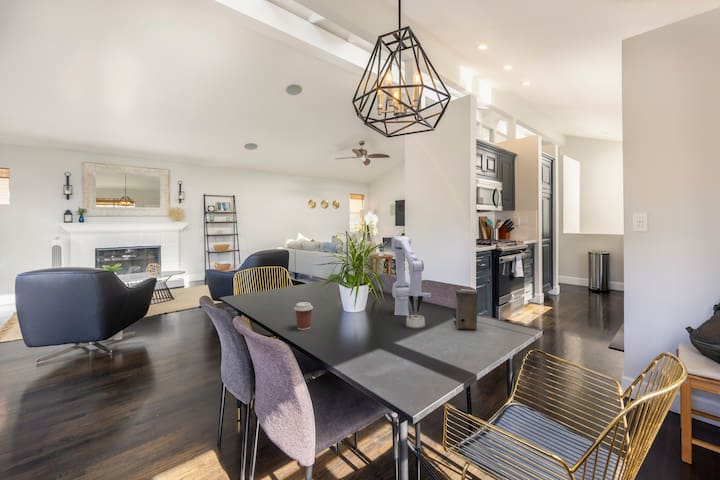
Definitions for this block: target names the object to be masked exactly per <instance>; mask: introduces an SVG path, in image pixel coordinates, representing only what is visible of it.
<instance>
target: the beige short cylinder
mask: <svg viewBox="0 0 720 480" xmlns="http://www.w3.org/2000/svg"><path fill="white" fill-rule="evenodd" d="M411 315H412V316H411V319H421V316H422V315H420V316H418V315H419V314H411Z"/></svg>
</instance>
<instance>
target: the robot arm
mask: <svg viewBox="0 0 720 480" xmlns="http://www.w3.org/2000/svg"><path fill="white" fill-rule="evenodd" d="M390 241H391V251H392V252H394V256H395V257H394V258H395V259H394V260H395V274H396V280H395V282H394V283H393V284H392V289H391V295H392V298H394V299H395V300H394V313H393V315H395V316H406V317H407V316H409V315H410V313H409V312H410V311H409V302H410V305H411V309H412V312H415V303H414V302H415V301H414V300H415V297H416V298H417V301H416V302H417V303H416V304H417V305H416V309H417V310H416V311H417V312H419V311H420V307H421V304H422V301H423V300H424V298H431V296H432V295H431V292H422V285H423V283H422V282H423V281H422V279H423V278H422V277H423V276H422V275H423V272H424V269H425V265H424V261H423V260H422V259H420V258H419V257H418V256H417V253H416V252H415V251H414V250H413V249H412V247H411V243H412V240H411V237H410V236H409V235H403V236H402V235H401V236H400V235H399V236H398V235H393V236H392V238H391V240H390ZM405 259H406V262H407V265H408V274H409V282H408V281H407V280H406V273H405V271H406V270H405Z"/></svg>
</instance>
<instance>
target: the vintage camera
mask: <svg viewBox="0 0 720 480" xmlns="http://www.w3.org/2000/svg"><path fill="white" fill-rule="evenodd" d="M455 298H456V301H455V303H456V312H455V313H452V315H453V318H454V319H455V320H456V321H455V324H456V325H455V326H456V329H457V330H467V331H468V330H471V331H473V330H474V331H477V329H478V290H477V289H476V288H474V289H472V288H471V289H465V288H461V289H460V288H457V289H456V291H455Z"/></svg>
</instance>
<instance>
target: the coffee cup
mask: <svg viewBox="0 0 720 480" xmlns="http://www.w3.org/2000/svg"><path fill="white" fill-rule="evenodd" d="M293 309H294V311H295V319H296V327H297V330H300V331H303V330H304V331H305V330H306V329H307V330H308V329H311V324H312V310H313V309H314V306H313V305H312V304H311V303H310V302H307V301H302V302H297V303H296V304H295V306H294V307H293Z"/></svg>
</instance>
